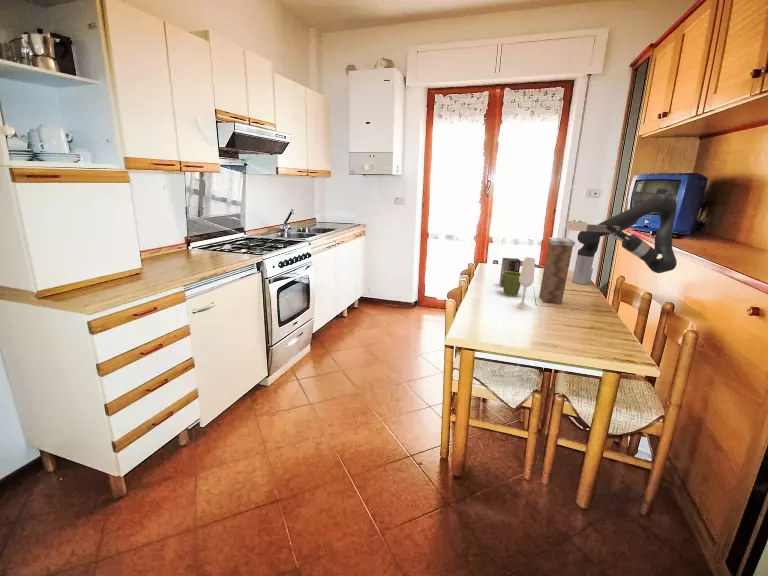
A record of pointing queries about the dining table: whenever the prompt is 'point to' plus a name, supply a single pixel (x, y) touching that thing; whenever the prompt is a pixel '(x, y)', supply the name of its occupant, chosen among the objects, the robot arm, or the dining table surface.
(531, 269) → the champagne flute
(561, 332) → the dining table surface
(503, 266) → the coffee box
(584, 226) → the block
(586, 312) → the dining table surface
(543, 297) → the anvil stand
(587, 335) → the dining table surface
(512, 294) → the plant pot
